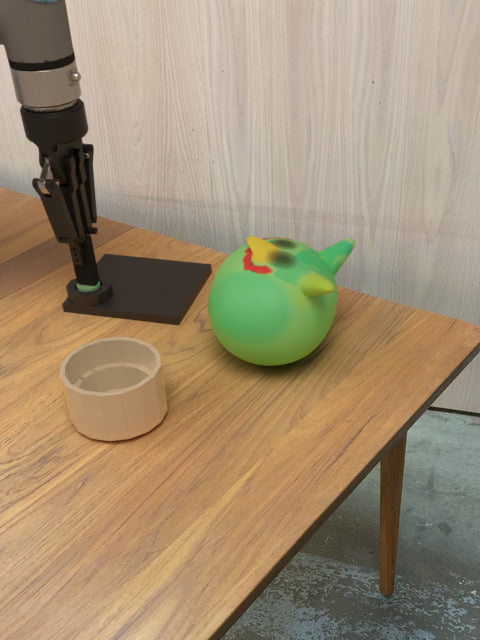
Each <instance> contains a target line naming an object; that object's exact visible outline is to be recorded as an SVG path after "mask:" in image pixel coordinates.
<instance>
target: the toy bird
mask: <svg viewBox="0 0 480 640" xmlns="http://www.w3.org/2000/svg"><path fill="white" fill-rule="evenodd" d="M245 241H246V243H245V244H242V245H240V246H239V247H238V248H236V249H235V250H233V251H232V252H231V253H230V254H229V255H228V256H227V257H226V258H225V259H224V260H223V261H222V263H221V264H220V265H219V267H218V269H217V271H216V273H215V274H214V277H213V279H212V282H211V285H210V288H209V293H208V299H207V313H208V314H207V315H208V319H209V324H210V326H211V329H212V331H213V334H214V336H215V337H216V339H217V340H218V342H219V344H220V345H222V347H223V348H225V350H226V351H228V352H229V353H230V354H231V355H233V356H235V357H237V358H239V360H242V361H245V362H247V363H250V364H253V365H258V366H265V367H266V366H267V367H269V366H270V367H272V366H273V367H275V366H284V365H287V364H288V365H289V364H292V363H295V362H297V361H300V360H302V359H304V358H305V357H307V356H308V355H309V354H311V353H312V352H313V351H314V350H315V349H317V348H318V347H319V346H320V344H322V343H323V341H324V340H325V338H326V337H327V335H328V333H329V331H330V329H331V328H332V325H333V322H334V320H335V316H336V313H337V308H338V307H337V306H338V287H337V282H336V276H337V274H338V272H339V271H340V269H341V268H342V266H343V265H344V264H345V262H346V261H347V260H348V258H349V256H350V255H351V254H352V252H353V250H354V248H355V246H356V240H355V239H354V238H353V237H348V238H344V239H342V240H340V241H338V242H336V243H334V244H332V245H329V246H328V247H326V248H323V249H322V250H319V251H316V250H315V249H314V248H312V247H311V246H309V245H307V244H305V243H303V242H301V241H298V240H295V239H292V238H287V237H286V238H285V237H264V238H260V237H257V236H255V235H249V236H247V237H246V240H245Z"/></svg>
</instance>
